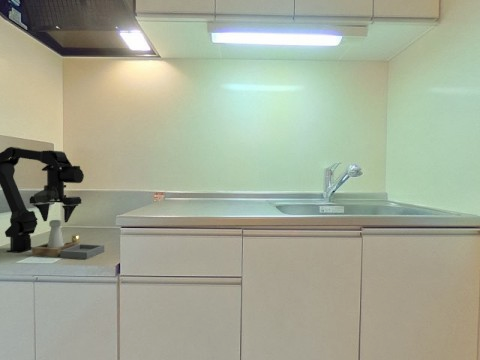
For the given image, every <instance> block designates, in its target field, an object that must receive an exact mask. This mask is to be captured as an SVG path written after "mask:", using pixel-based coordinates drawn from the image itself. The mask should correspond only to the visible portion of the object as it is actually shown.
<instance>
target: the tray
mask: <svg viewBox="0 0 480 360" xmlns="http://www.w3.org/2000/svg"><path fill="white" fill-rule="evenodd" d="M104 252H105V245H103V244H89V243H88V244H87V243H79V244H78V245H75V246H73V247H70V248H67V249H64V250H61V251H60V257H59V258H64V259H65V258H66V259H78V260H79V259H80V260H88V259H91V258H93V257H94V256H97V255H99V254H102V253H104Z"/></svg>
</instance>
